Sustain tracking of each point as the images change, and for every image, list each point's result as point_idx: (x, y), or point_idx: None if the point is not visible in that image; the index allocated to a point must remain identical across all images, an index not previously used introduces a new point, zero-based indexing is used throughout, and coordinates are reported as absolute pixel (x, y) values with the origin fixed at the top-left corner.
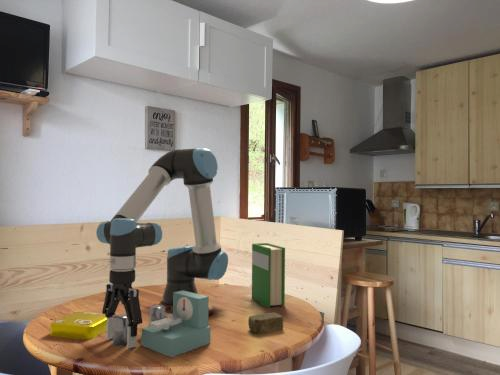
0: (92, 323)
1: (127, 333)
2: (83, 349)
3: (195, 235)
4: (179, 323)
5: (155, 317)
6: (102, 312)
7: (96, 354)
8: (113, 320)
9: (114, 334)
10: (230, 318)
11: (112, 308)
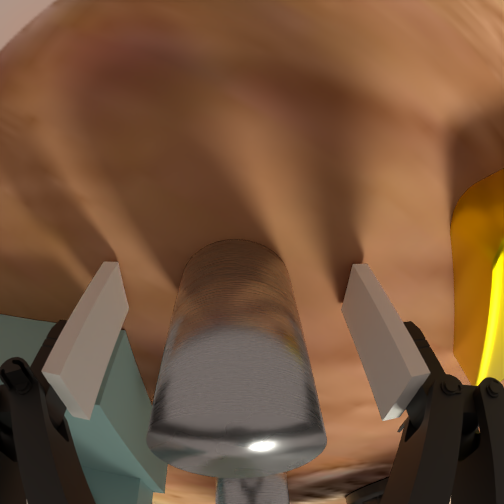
0: None
1: (80, 324)
2: (339, 59)
3: None
4: (96, 468)
5: (228, 482)
6: (496, 383)
7: (167, 65)
8: (264, 387)
9: (230, 285)
10: (191, 499)
11: (404, 480)
